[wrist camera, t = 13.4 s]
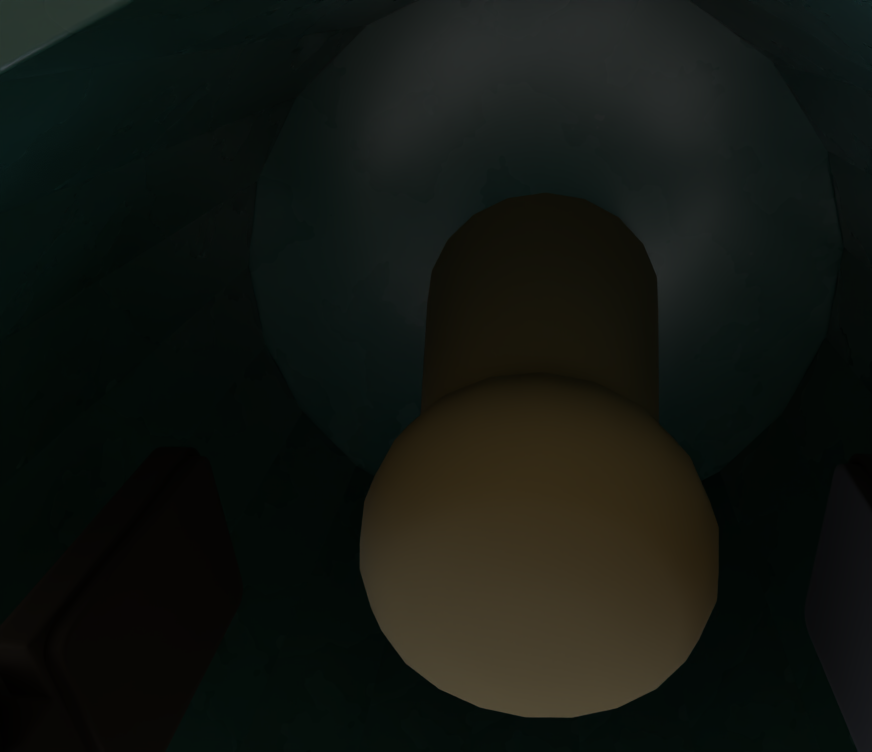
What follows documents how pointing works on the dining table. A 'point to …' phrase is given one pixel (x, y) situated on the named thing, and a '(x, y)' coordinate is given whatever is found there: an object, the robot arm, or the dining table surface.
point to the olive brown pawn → (541, 476)
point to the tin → (407, 307)
